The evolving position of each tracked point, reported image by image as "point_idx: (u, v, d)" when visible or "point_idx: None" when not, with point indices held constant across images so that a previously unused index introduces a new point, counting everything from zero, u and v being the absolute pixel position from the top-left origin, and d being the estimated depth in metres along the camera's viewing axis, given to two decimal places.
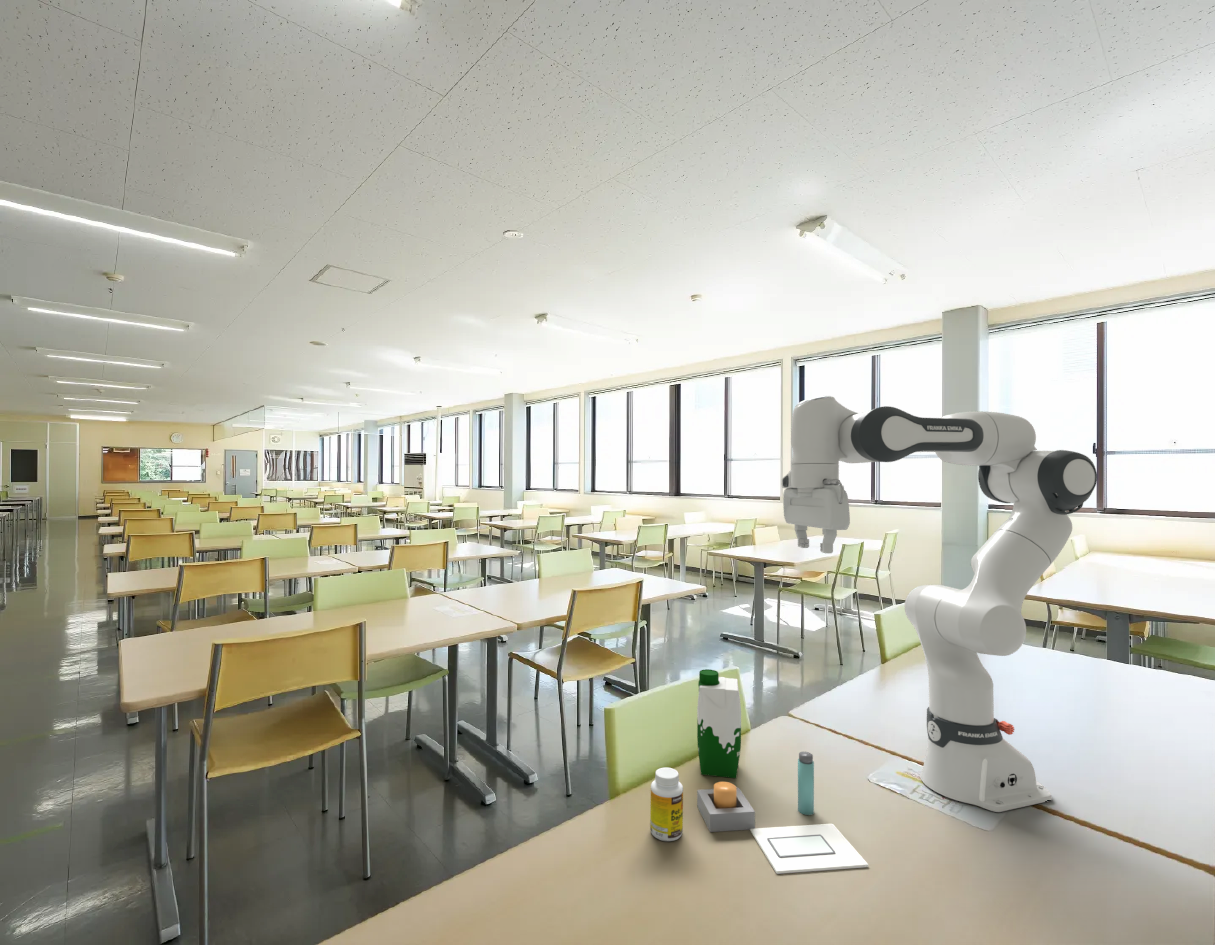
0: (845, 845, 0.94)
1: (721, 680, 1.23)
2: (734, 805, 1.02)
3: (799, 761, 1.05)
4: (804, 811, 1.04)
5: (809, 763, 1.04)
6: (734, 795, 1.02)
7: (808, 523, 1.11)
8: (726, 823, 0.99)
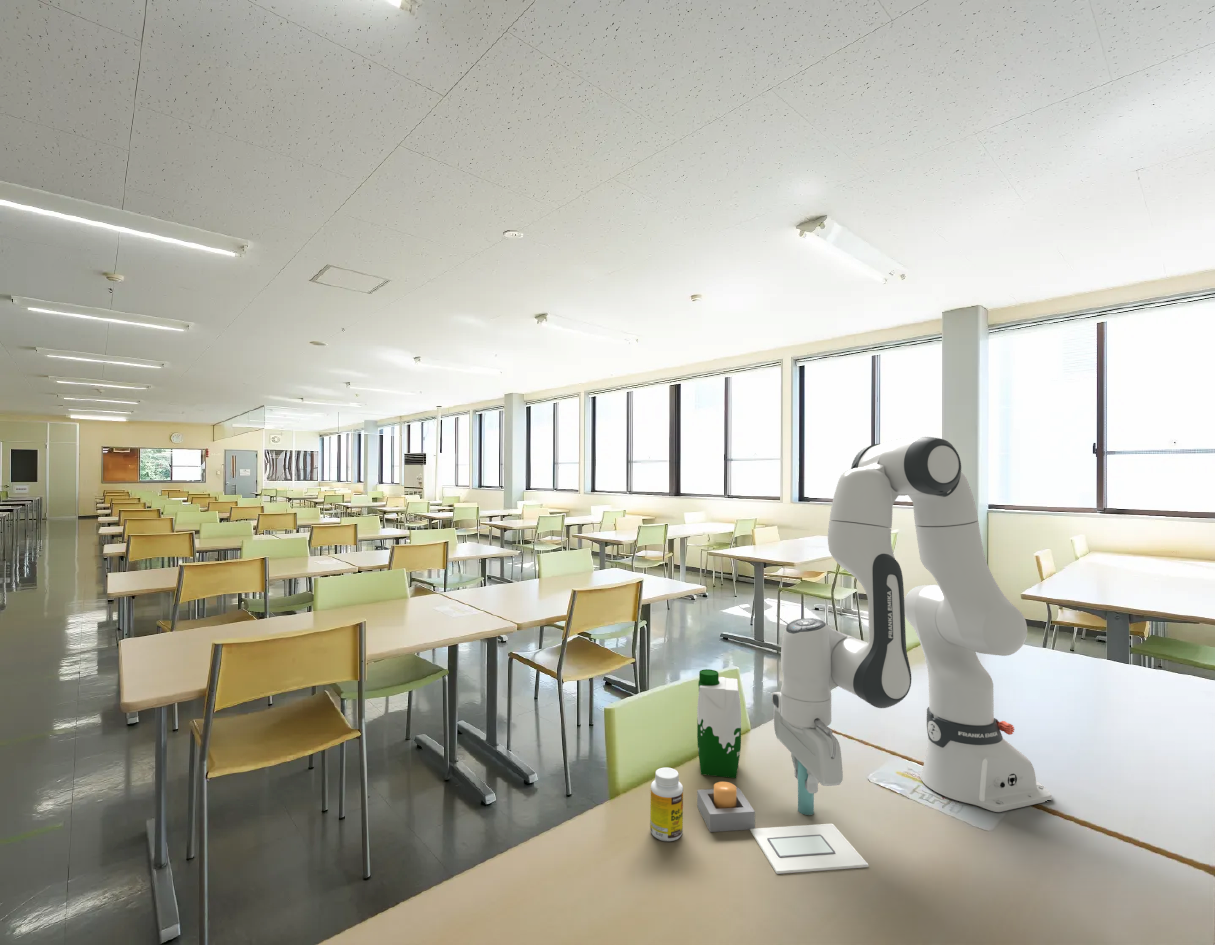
0: (845, 845, 0.94)
1: (721, 680, 1.23)
2: (734, 805, 1.02)
3: None
4: (804, 811, 1.04)
5: None
6: (734, 795, 1.02)
7: (798, 758, 1.04)
8: (726, 823, 0.99)
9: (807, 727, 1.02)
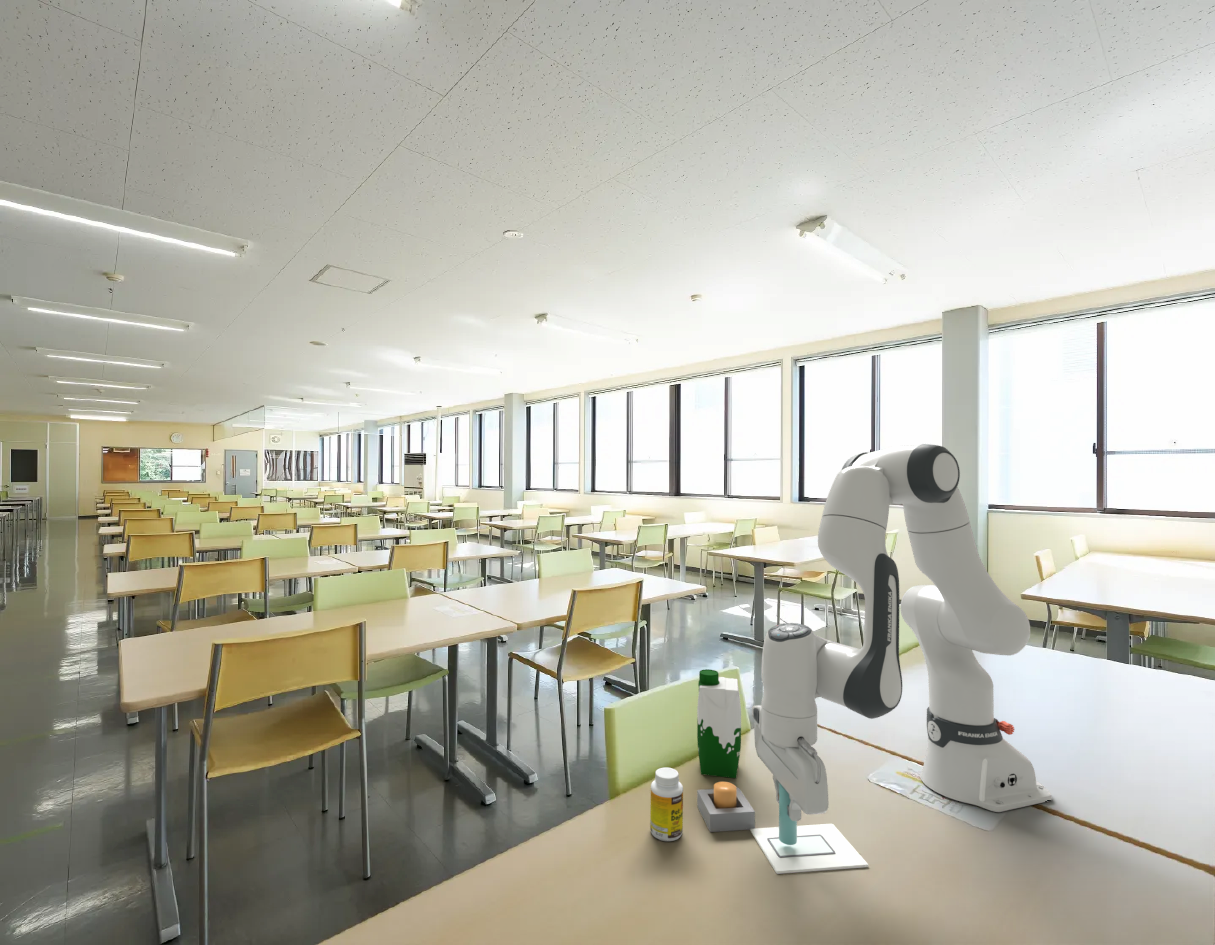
0: (845, 845, 0.94)
1: (721, 680, 1.23)
2: (734, 805, 1.02)
3: None
4: (786, 840, 0.93)
5: None
6: (734, 795, 1.02)
7: (780, 781, 0.93)
8: (726, 823, 0.99)
9: (789, 746, 0.90)
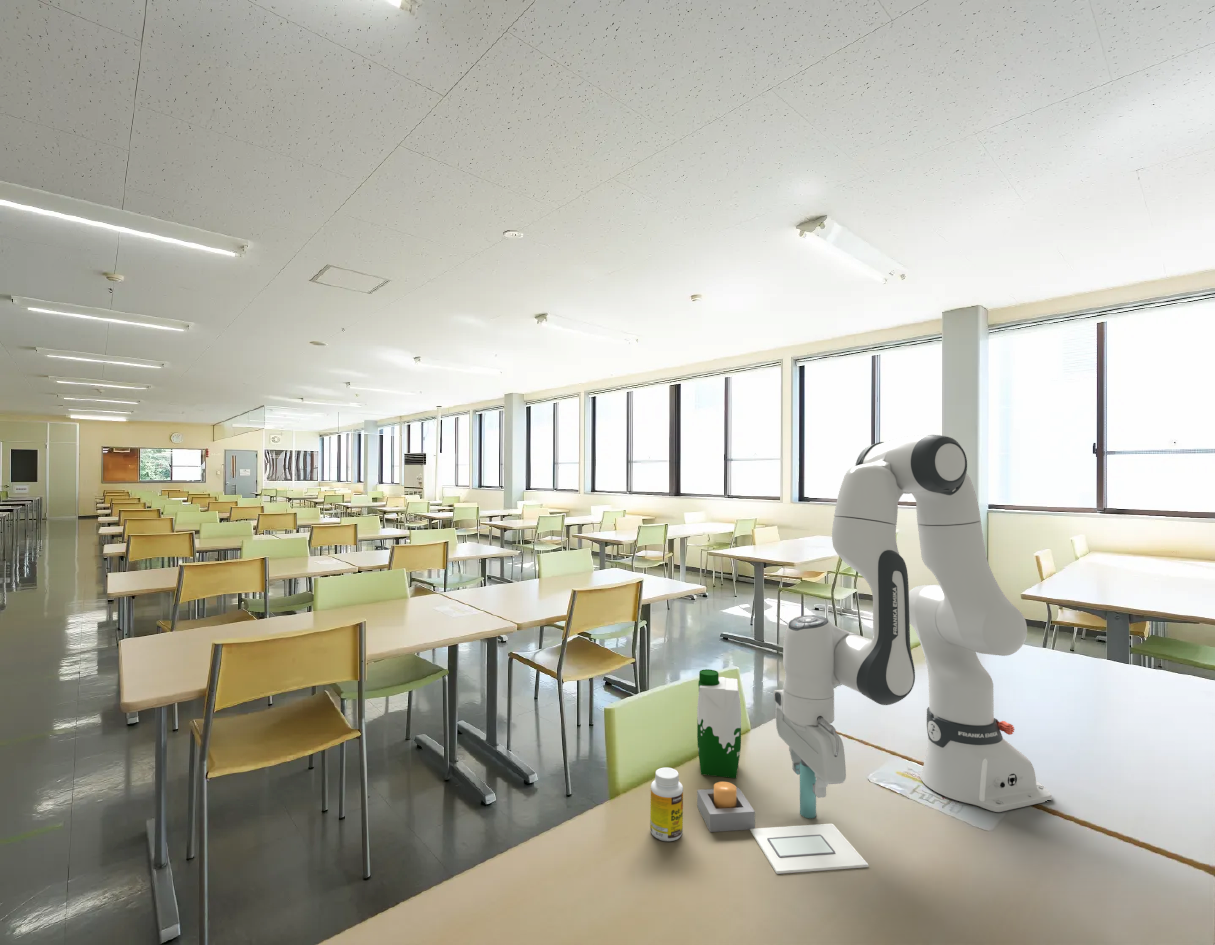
0: (845, 845, 0.94)
1: (721, 680, 1.23)
2: (734, 805, 1.02)
3: (801, 764, 1.04)
4: (806, 814, 1.03)
5: None
6: (734, 795, 1.02)
7: (801, 756, 1.03)
8: (726, 823, 0.99)
9: (810, 725, 1.01)
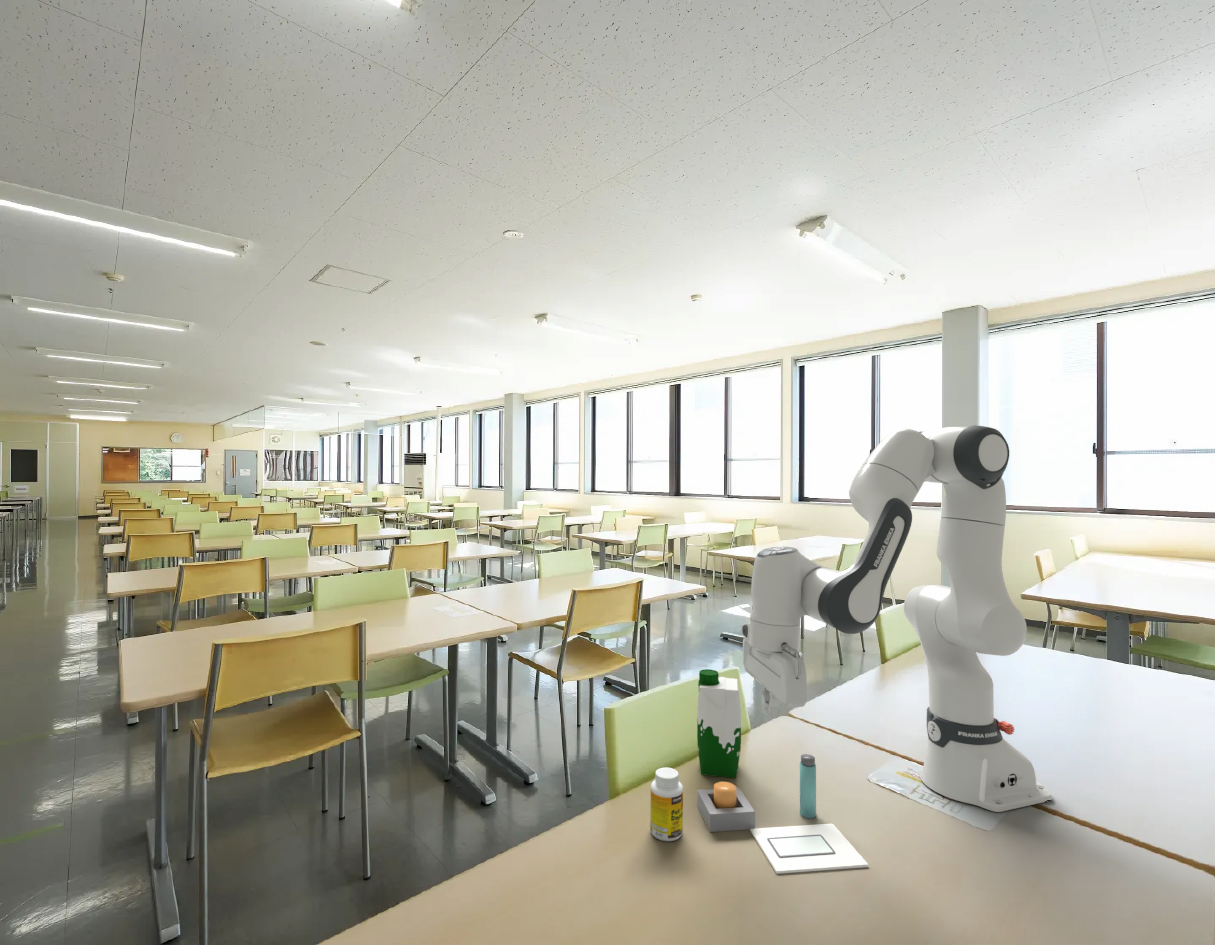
0: (845, 845, 0.94)
1: (721, 680, 1.23)
2: (734, 805, 1.02)
3: (801, 764, 1.04)
4: (806, 814, 1.03)
5: (811, 766, 1.03)
6: (734, 795, 1.02)
7: (765, 685, 1.03)
8: (726, 823, 0.99)
9: (774, 651, 1.00)
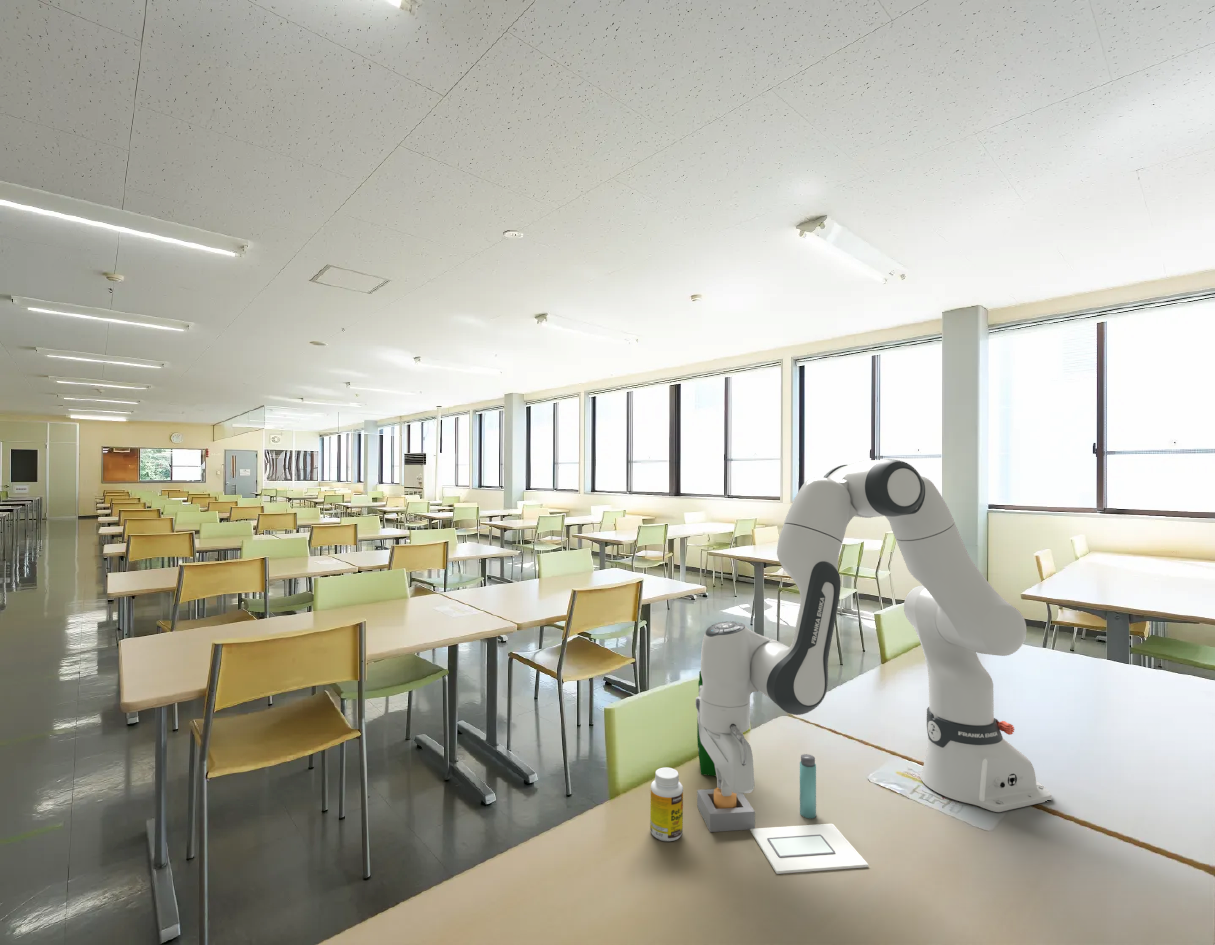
0: (845, 845, 0.94)
1: None
2: None
3: (801, 764, 1.04)
4: (806, 814, 1.03)
5: (811, 766, 1.03)
6: (734, 800, 1.02)
7: (716, 765, 1.02)
8: (726, 823, 0.99)
9: (723, 733, 0.99)
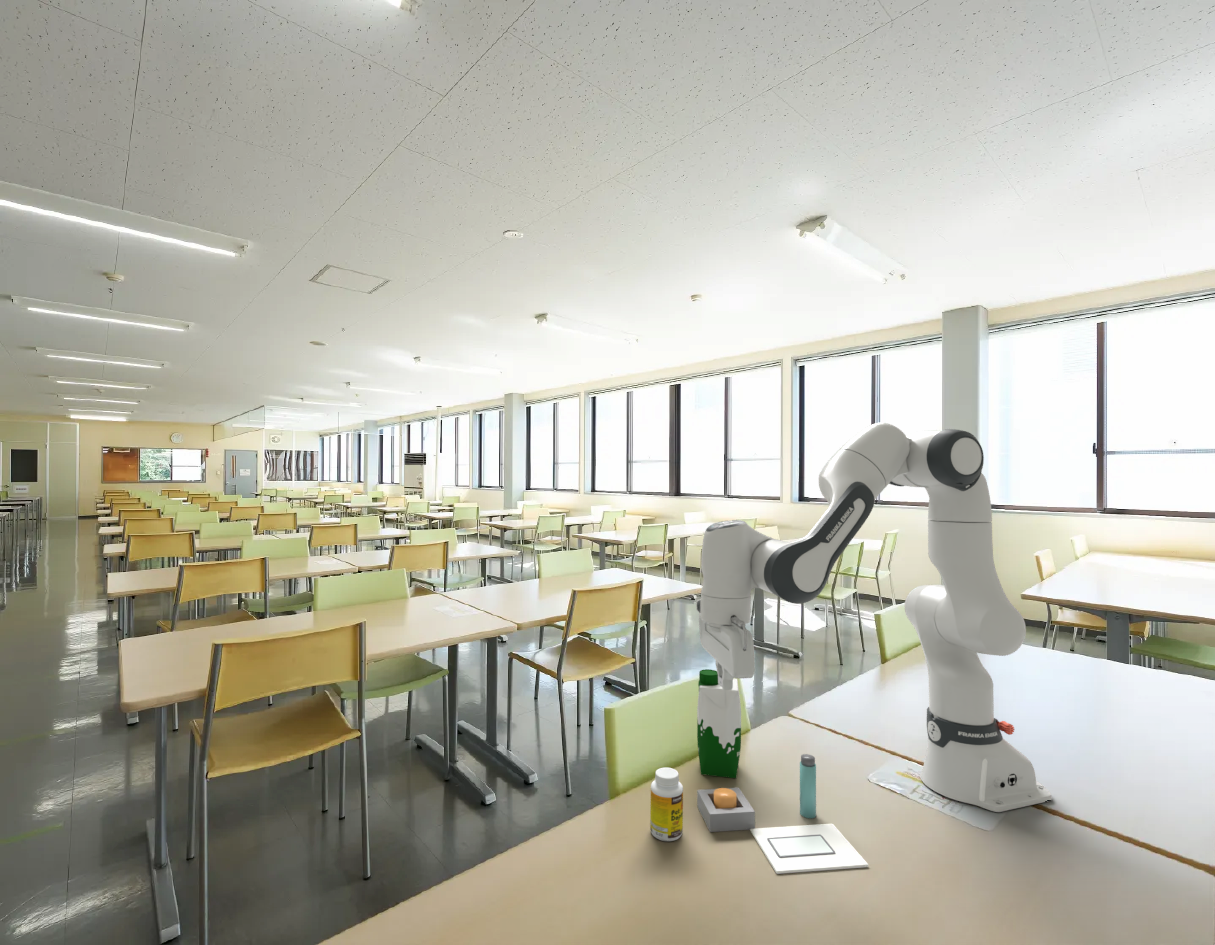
0: (845, 845, 0.94)
1: None
2: None
3: (801, 764, 1.04)
4: (806, 814, 1.03)
5: (811, 766, 1.03)
6: (734, 802, 1.02)
7: (717, 659, 1.03)
8: (726, 823, 0.99)
9: (723, 624, 1.00)
